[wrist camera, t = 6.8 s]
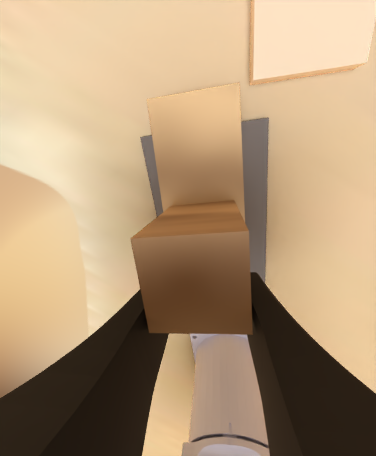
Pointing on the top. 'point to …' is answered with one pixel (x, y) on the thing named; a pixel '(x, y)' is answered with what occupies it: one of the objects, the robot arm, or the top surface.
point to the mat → (252, 179)
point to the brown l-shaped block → (197, 218)
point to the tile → (308, 37)
